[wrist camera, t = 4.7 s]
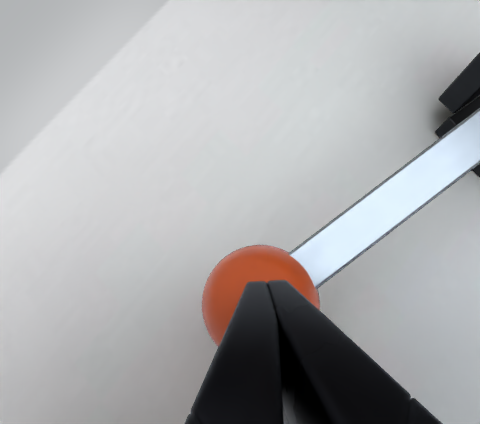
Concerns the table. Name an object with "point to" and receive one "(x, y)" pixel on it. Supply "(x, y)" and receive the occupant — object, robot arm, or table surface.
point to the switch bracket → (462, 98)
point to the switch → (344, 229)
